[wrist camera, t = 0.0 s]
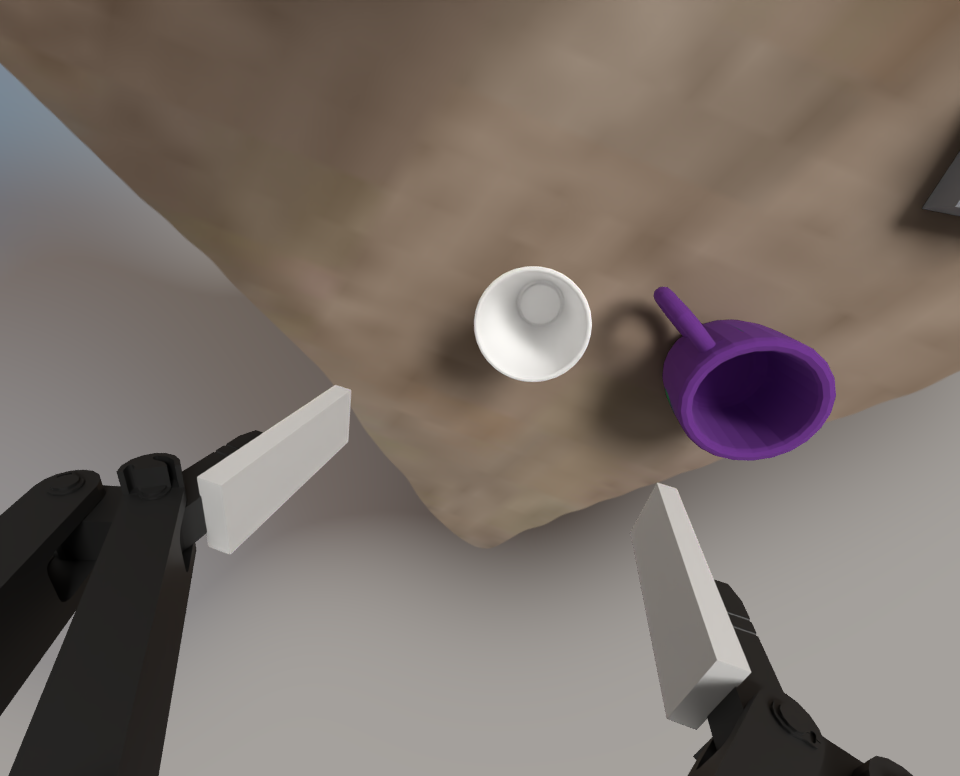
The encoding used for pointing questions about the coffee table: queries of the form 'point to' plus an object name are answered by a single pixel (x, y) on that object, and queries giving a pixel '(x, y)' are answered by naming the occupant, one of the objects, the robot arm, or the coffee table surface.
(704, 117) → the coffee table surface
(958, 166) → the tray
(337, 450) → the robot arm
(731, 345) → the mug
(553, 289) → the cup
